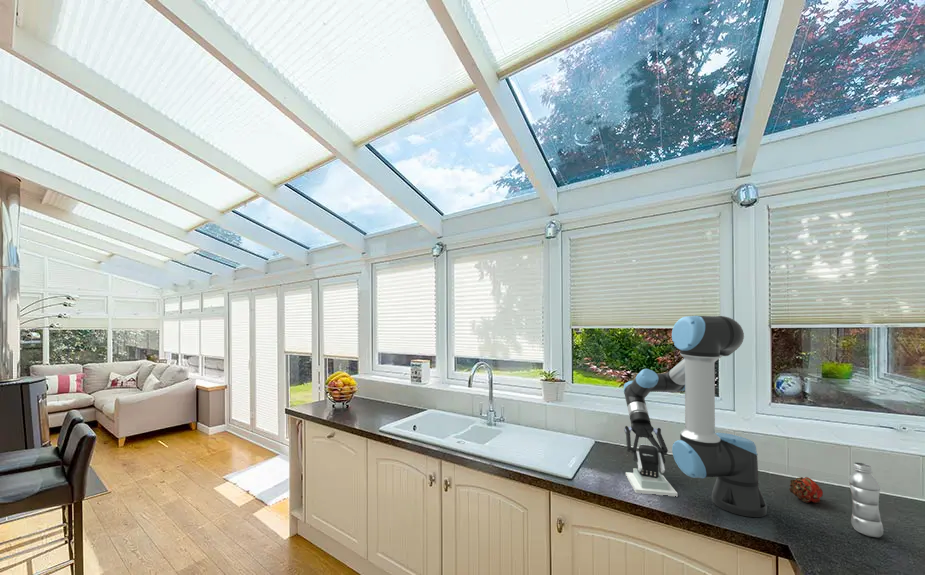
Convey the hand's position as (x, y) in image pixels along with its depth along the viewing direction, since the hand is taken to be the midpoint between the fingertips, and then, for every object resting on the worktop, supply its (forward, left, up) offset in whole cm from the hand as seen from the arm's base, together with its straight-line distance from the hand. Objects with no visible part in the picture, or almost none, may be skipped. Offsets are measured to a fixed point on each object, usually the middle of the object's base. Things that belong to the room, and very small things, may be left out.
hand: (651, 470), depth 140 cm
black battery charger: (0, -4, -4) cm, 5 cm away
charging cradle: (0, -3, -7) cm, 7 cm away
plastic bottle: (-54, +19, -7) cm, 58 cm away
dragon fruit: (-51, -2, -7) cm, 52 cm away
